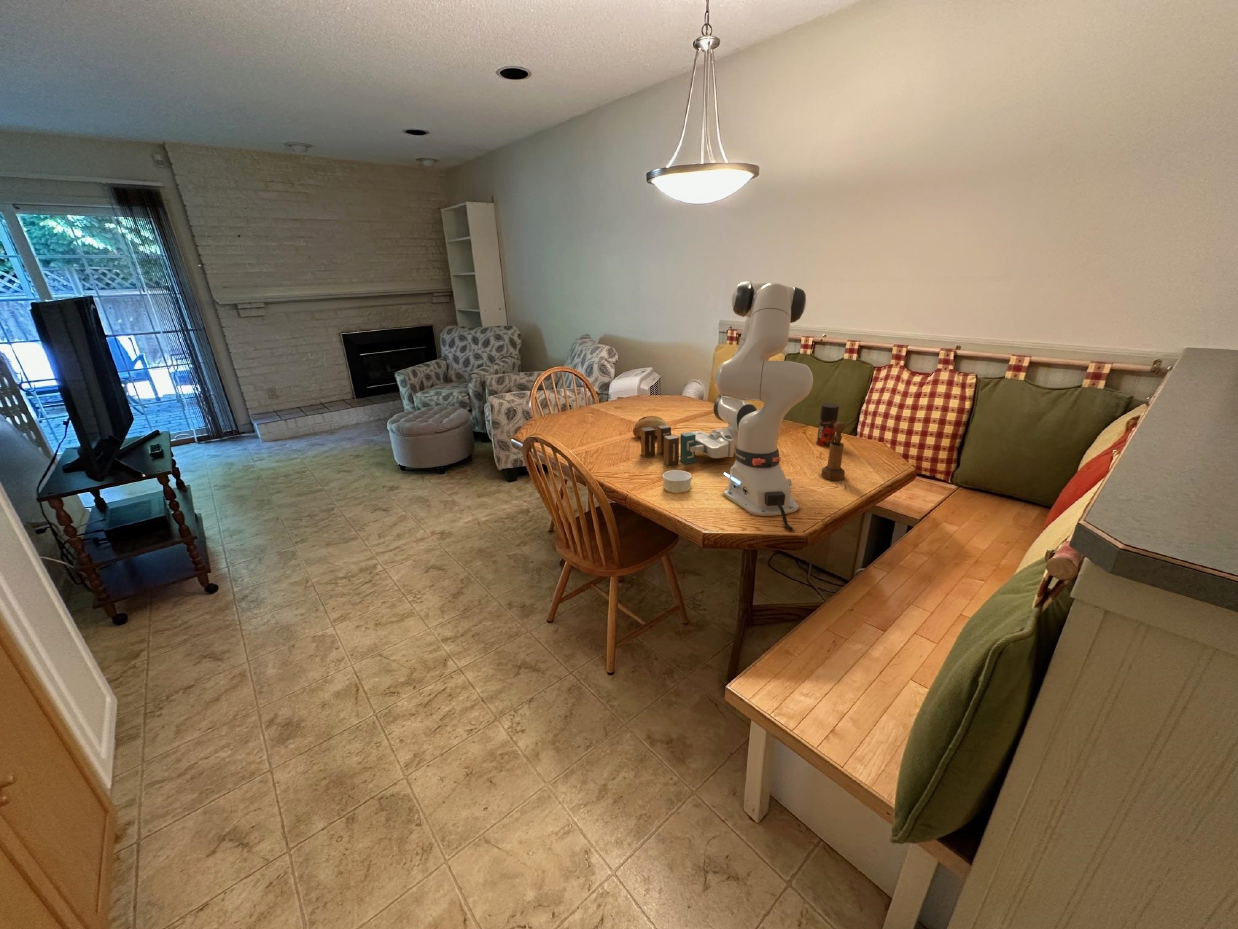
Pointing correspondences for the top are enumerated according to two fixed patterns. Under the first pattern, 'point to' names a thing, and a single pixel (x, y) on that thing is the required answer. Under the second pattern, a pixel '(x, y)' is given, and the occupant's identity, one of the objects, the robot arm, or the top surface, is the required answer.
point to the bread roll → (648, 424)
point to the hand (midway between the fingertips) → (685, 447)
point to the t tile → (662, 437)
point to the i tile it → (647, 442)
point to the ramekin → (677, 481)
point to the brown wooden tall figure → (835, 456)
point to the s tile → (685, 442)
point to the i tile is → (671, 450)
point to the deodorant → (827, 424)
